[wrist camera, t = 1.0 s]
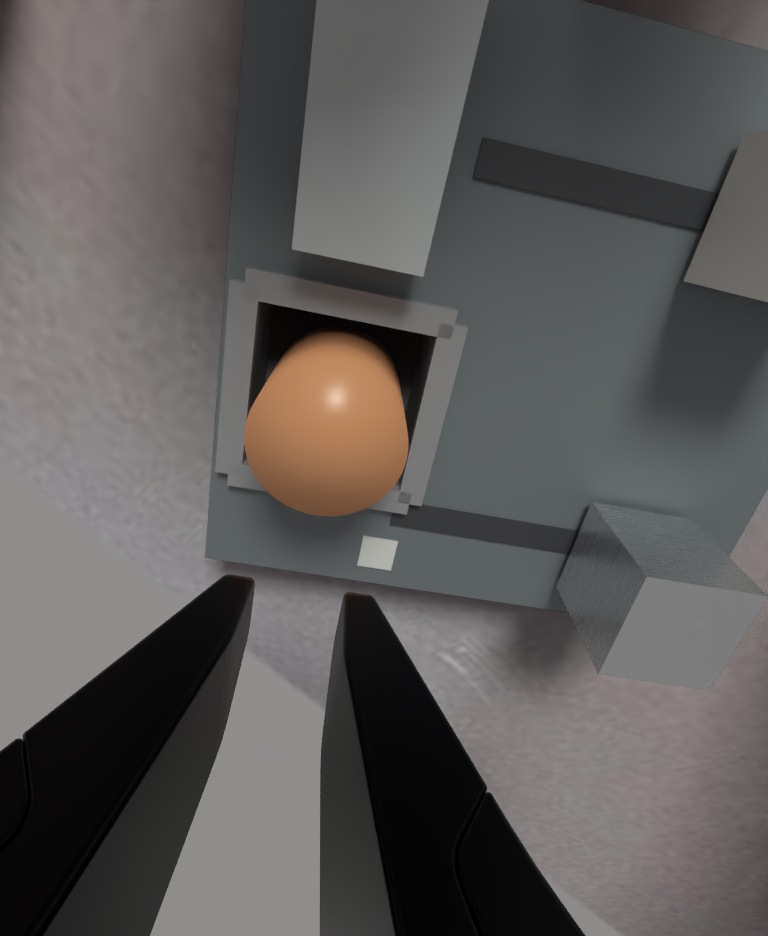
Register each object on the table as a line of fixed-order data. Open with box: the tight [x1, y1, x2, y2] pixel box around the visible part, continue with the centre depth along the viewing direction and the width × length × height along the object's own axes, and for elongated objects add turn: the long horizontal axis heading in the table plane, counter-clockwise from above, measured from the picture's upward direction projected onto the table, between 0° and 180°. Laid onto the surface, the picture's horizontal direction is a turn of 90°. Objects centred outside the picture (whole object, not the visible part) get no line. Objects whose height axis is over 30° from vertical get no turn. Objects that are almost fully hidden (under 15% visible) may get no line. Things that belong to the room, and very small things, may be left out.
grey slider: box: [557, 502, 768, 690], centre depth 17 cm, size 4×4×4 cm
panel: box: [205, 0, 768, 613], centre depth 17 cm, size 18×17×3 cm
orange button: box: [244, 327, 409, 516], centre depth 15 cm, size 4×4×4 cm
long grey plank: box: [292, 0, 489, 277], centre depth 12 cm, size 3×6×1 cm, turn 169°
